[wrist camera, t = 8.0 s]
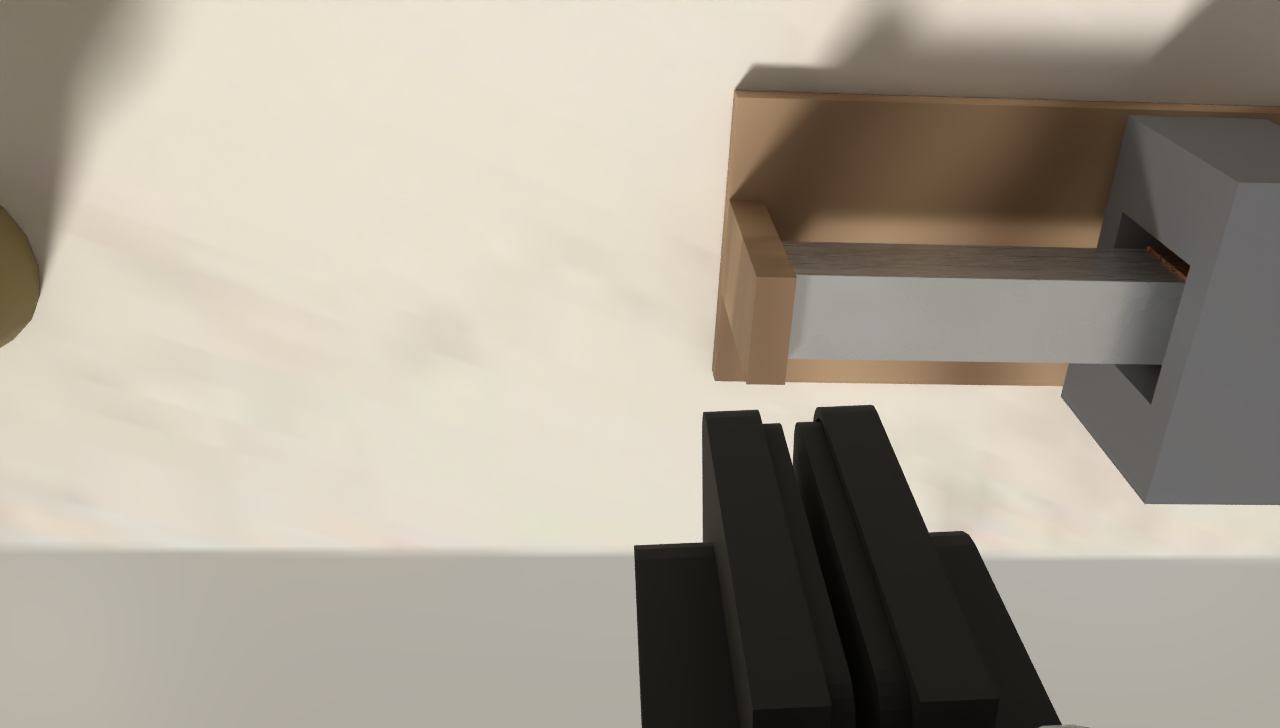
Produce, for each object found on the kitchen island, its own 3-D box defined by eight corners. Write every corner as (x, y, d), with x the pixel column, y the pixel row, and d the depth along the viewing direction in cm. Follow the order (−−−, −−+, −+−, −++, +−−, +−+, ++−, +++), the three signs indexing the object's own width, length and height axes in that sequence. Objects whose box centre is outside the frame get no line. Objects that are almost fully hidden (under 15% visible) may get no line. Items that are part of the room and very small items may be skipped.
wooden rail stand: (1338, 108, 33) (1499, 178, 28) (1251, 377, 38) (1375, 487, 32) (734, 90, 32) (767, 158, 27) (711, 369, 36) (737, 481, 31)
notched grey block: (1265, 119, 32) (1403, 186, 27) (1183, 397, 36) (1287, 505, 31) (1128, 114, 32) (1239, 182, 26) (1060, 396, 36) (1144, 503, 30)
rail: (1352, 248, 32) (1412, 285, 30) (1323, 332, 33) (1378, 372, 31) (757, 235, 31) (771, 272, 29) (748, 321, 32) (761, 363, 30)
